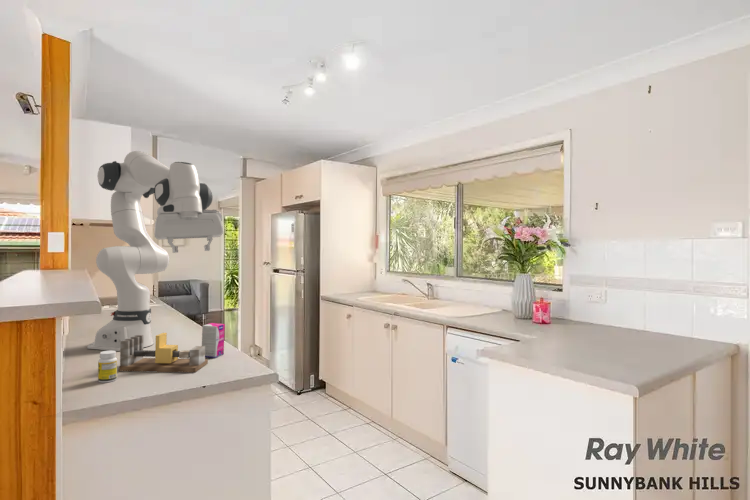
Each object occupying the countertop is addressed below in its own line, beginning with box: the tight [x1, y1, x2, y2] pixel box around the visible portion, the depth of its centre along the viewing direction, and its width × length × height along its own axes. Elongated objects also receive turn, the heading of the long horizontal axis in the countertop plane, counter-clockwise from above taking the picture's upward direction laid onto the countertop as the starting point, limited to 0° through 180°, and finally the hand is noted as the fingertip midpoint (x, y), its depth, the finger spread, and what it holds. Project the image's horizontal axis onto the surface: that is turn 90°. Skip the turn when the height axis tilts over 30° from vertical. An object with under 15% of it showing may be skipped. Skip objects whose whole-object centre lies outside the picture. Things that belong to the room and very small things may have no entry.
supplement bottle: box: [97, 350, 118, 384], centre depth 124 cm, size 5×5×8 cm
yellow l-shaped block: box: [154, 332, 179, 363], centre depth 138 cm, size 5×5×9 cm
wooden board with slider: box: [118, 335, 209, 373], centre depth 138 cm, size 24×10×9 cm, turn 91°
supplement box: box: [201, 322, 226, 359], centre depth 153 cm, size 6×6×12 cm
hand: (191, 251), depth 135 cm, fingers open, 8 cm apart
